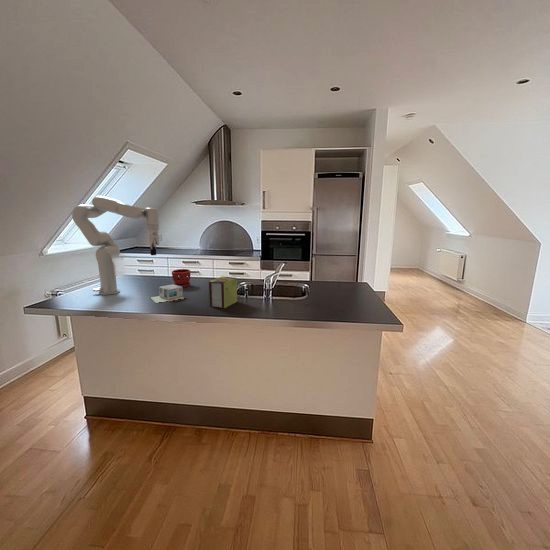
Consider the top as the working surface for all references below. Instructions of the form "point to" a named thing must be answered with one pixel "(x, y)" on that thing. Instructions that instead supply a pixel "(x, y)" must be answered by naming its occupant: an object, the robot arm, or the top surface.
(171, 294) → the light bulb box
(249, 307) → the top surface
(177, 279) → the plant pot
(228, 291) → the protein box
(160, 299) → the pale green mat
